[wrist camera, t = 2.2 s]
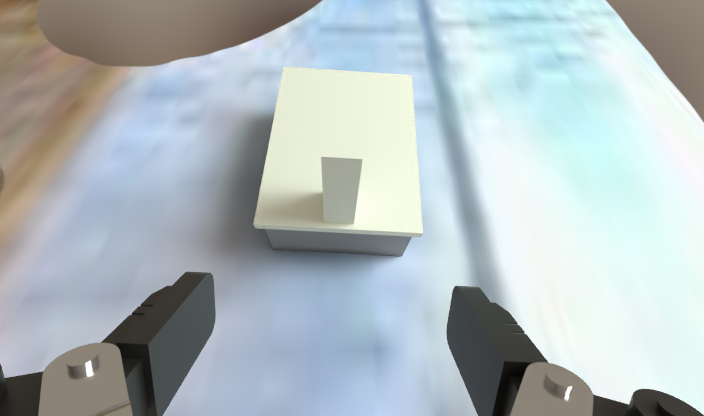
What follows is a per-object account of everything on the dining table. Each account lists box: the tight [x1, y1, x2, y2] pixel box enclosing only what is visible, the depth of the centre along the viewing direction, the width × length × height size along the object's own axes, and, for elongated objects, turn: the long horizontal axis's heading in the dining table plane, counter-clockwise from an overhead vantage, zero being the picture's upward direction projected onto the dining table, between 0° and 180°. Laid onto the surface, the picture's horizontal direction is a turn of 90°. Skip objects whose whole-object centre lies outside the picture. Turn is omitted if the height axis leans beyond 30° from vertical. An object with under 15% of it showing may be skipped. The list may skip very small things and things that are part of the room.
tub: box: [265, 229, 411, 256], centre depth 36 cm, size 18×13×6 cm
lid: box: [253, 67, 423, 237], centre depth 30 cm, size 19×14×11 cm
